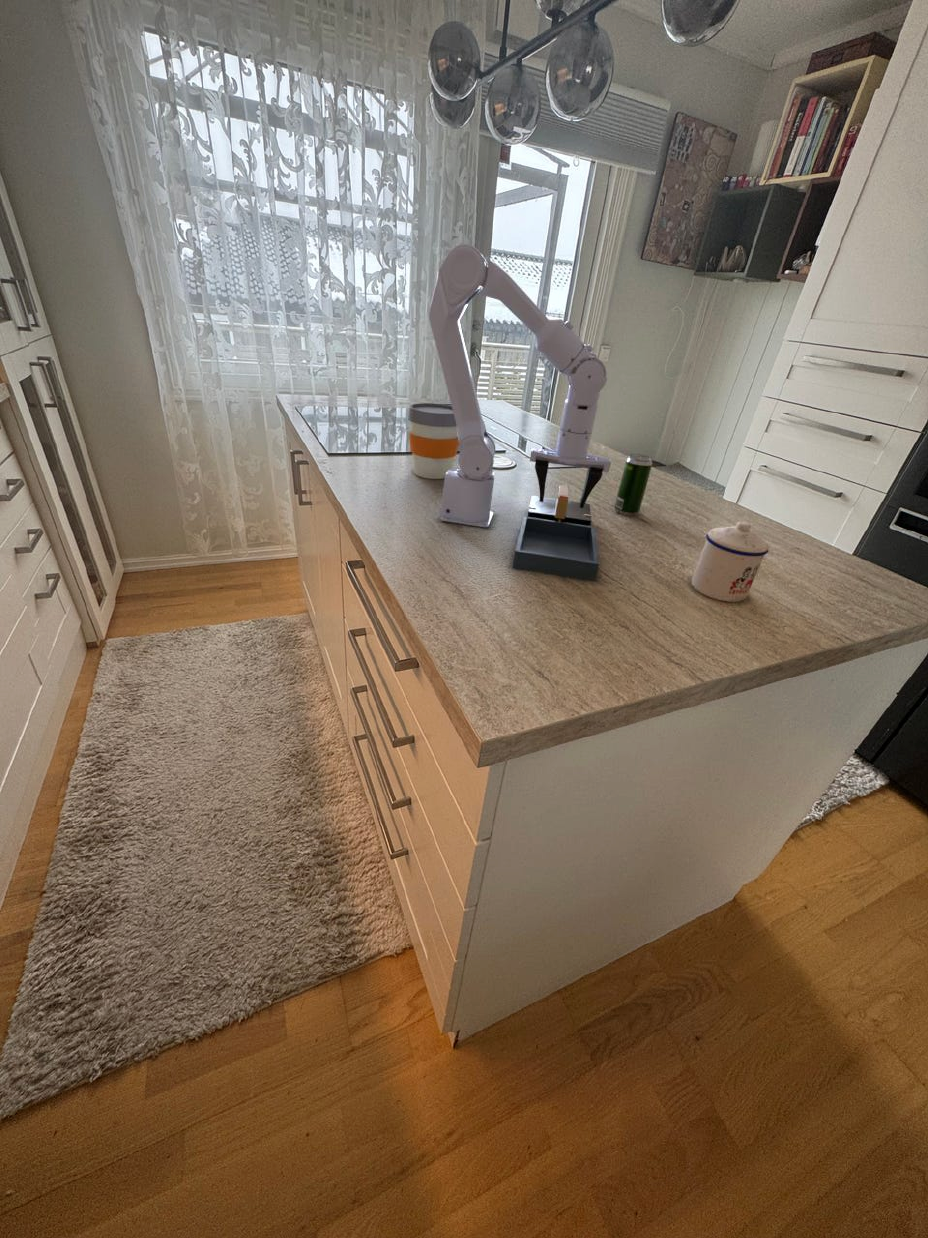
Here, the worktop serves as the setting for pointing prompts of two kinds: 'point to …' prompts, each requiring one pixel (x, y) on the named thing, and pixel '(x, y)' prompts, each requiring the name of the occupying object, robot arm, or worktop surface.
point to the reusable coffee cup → (432, 439)
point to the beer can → (633, 484)
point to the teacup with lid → (729, 562)
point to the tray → (557, 548)
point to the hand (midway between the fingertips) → (561, 503)
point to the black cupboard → (549, 506)
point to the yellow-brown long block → (562, 502)
